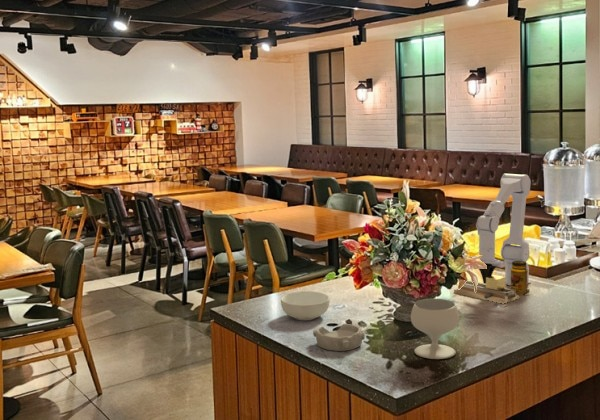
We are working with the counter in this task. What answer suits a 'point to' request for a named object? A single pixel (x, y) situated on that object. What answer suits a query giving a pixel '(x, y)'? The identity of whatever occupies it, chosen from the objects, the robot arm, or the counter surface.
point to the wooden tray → (487, 293)
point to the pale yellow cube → (495, 282)
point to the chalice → (435, 325)
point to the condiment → (519, 277)
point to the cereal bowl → (305, 304)
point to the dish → (339, 338)
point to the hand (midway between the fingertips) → (486, 283)
